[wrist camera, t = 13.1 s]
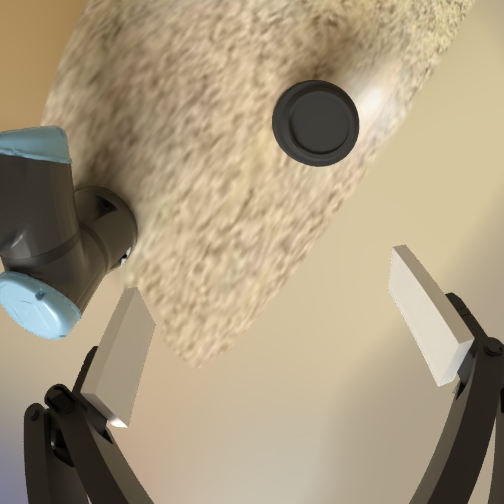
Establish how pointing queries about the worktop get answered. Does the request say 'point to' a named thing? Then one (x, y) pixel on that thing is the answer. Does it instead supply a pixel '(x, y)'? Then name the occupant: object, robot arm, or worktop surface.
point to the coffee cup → (315, 123)
